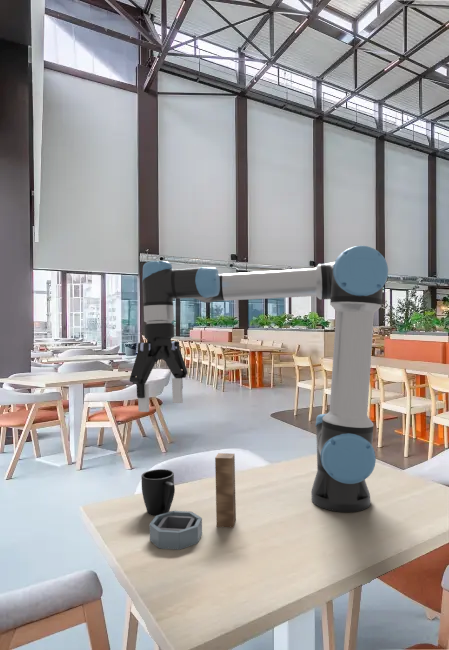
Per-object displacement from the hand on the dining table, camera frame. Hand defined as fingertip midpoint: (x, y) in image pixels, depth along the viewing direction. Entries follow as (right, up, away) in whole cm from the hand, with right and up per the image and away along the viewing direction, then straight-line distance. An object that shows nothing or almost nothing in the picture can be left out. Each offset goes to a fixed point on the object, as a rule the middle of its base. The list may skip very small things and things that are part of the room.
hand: (161, 407), depth 107 cm
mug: (0, -27, 0) cm, 27 cm away
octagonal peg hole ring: (+5, -27, -13) cm, 30 cm away
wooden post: (+16, -26, -6) cm, 32 cm away
